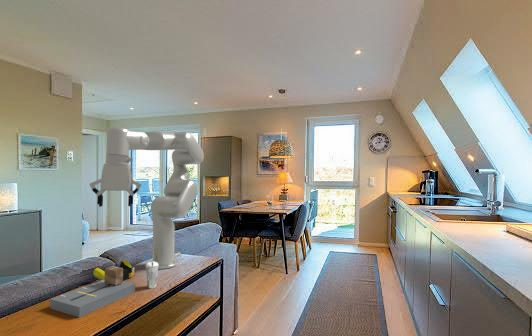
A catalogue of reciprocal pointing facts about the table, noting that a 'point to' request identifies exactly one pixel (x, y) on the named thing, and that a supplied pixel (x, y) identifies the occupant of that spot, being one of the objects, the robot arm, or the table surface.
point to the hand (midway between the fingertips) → (115, 206)
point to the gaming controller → (127, 268)
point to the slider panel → (90, 297)
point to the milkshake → (151, 274)
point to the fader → (113, 275)
